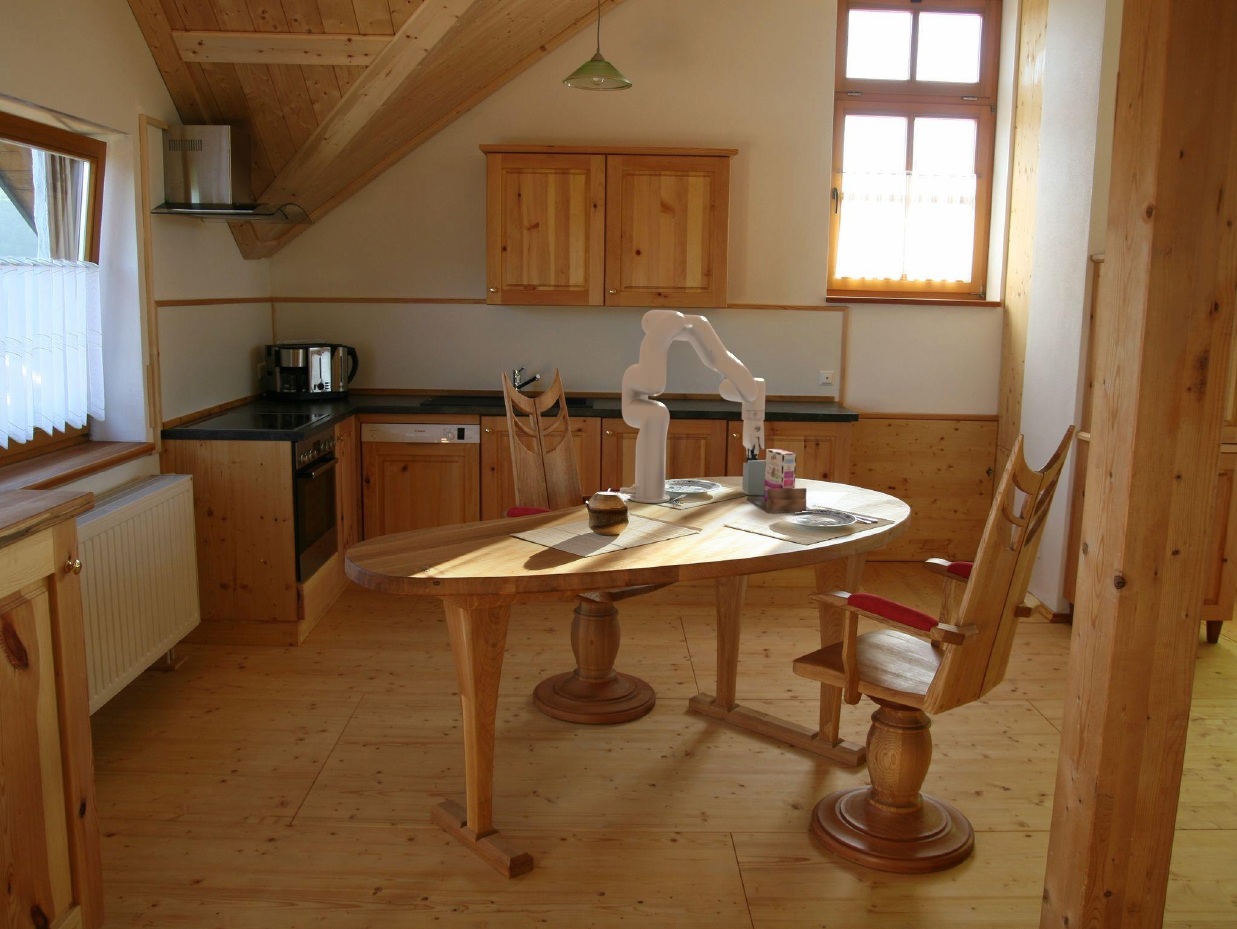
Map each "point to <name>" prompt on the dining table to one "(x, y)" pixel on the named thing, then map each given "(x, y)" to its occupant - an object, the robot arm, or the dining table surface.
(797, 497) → the book rack
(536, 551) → the dining table surface
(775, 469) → the candy bar box
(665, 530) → the dining table surface
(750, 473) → the block
